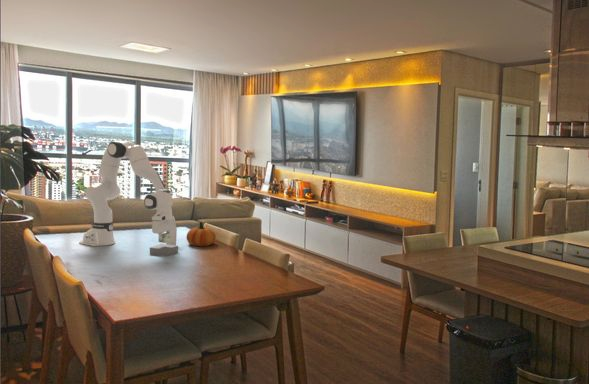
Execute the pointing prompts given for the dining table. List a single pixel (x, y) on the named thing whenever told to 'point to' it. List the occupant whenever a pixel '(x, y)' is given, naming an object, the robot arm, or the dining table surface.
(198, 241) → the pumpkin
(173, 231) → the mug
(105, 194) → the robot arm
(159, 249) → the riser block
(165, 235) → the cube
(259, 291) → the dining table surface
